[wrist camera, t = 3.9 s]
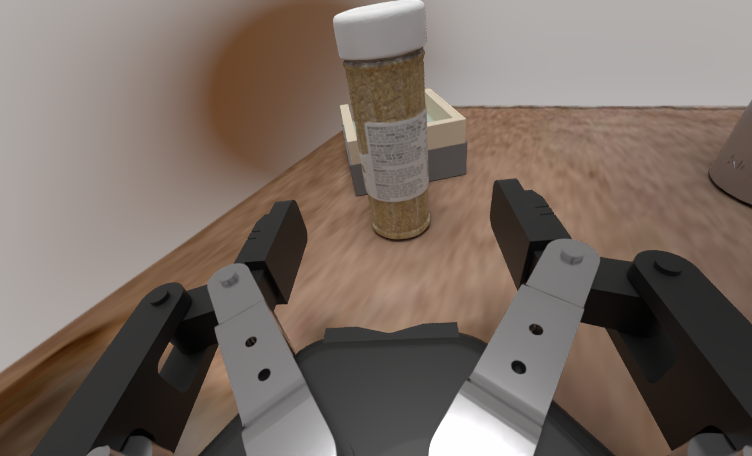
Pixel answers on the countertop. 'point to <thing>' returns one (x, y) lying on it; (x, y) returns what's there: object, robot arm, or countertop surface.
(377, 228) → the sprinkles bottle
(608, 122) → the countertop surface
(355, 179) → the shallow square tray
